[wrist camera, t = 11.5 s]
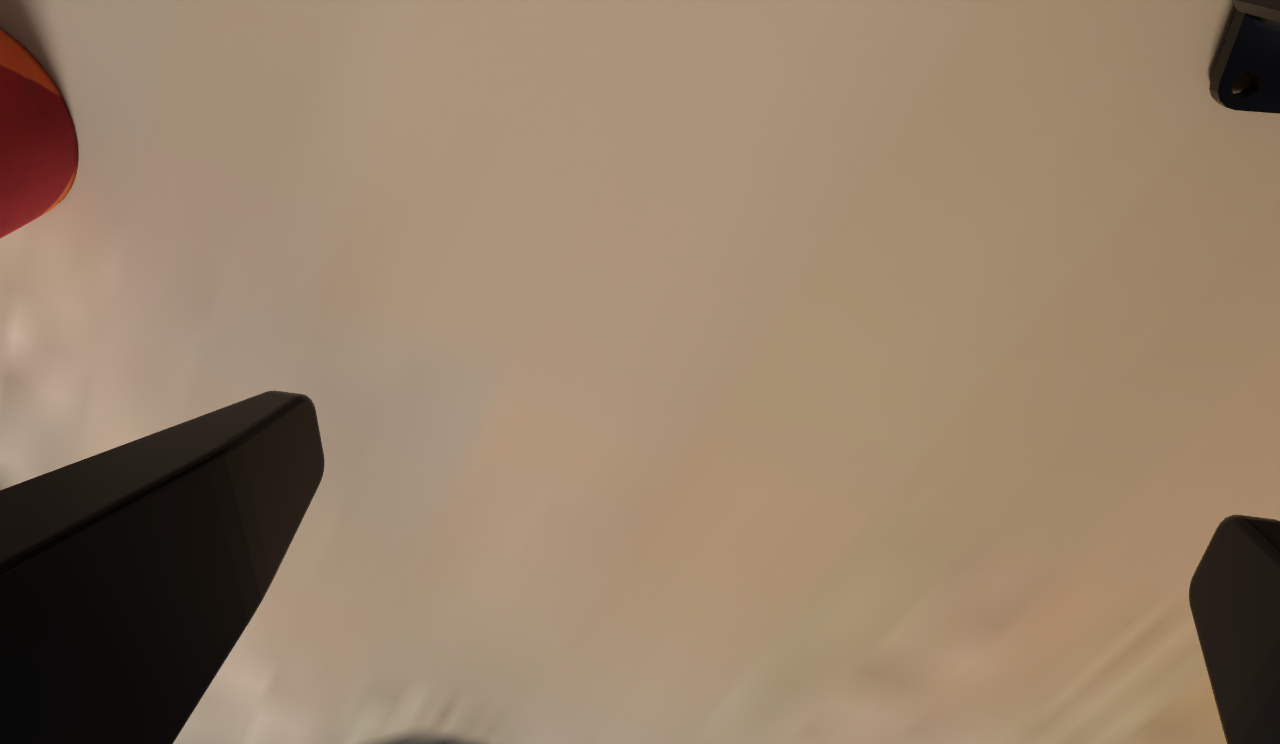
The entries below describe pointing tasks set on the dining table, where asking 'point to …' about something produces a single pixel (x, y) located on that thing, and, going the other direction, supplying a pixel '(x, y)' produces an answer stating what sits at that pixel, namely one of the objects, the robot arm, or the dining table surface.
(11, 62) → the paper cup
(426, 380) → the dining table surface
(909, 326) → the dining table surface
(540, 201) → the dining table surface
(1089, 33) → the dining table surface
